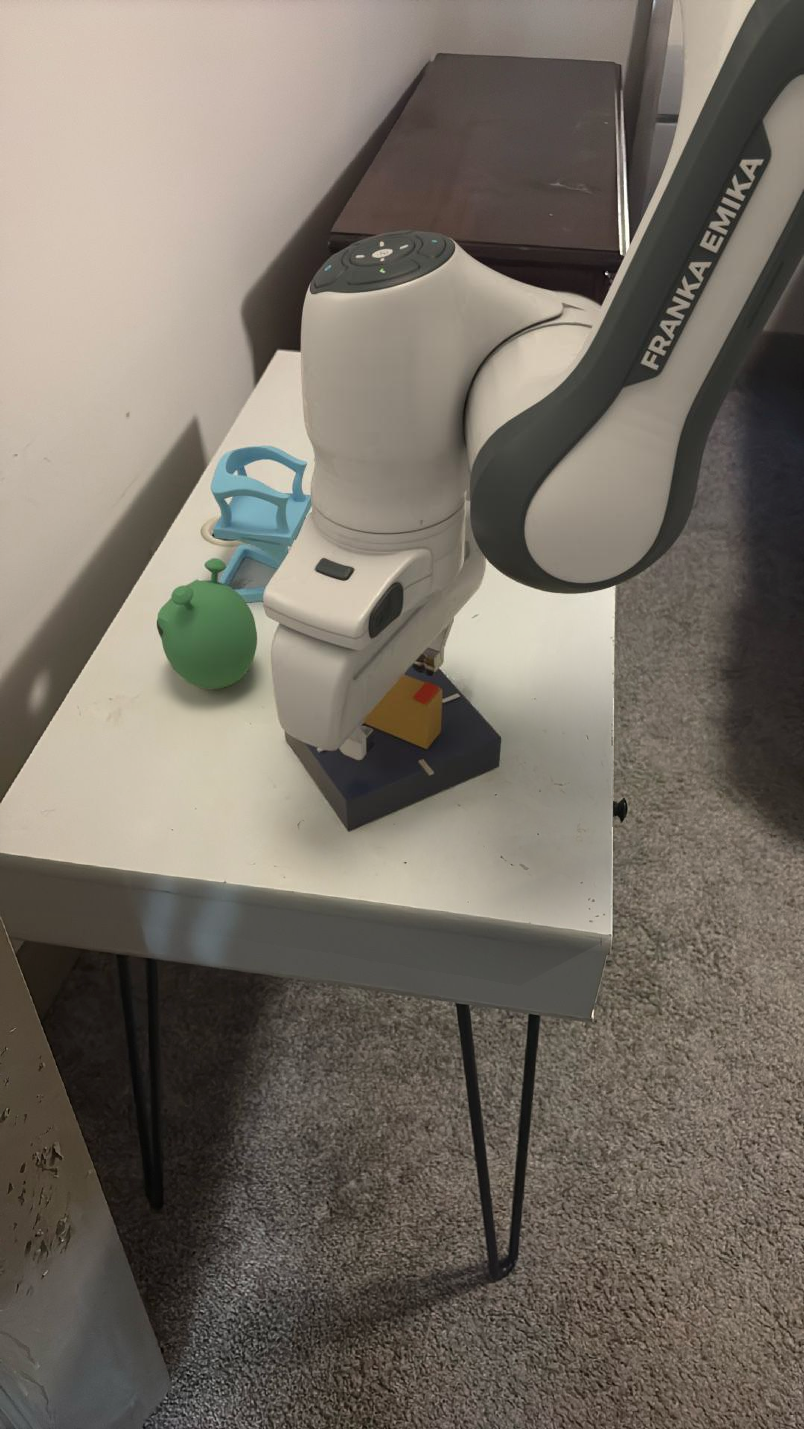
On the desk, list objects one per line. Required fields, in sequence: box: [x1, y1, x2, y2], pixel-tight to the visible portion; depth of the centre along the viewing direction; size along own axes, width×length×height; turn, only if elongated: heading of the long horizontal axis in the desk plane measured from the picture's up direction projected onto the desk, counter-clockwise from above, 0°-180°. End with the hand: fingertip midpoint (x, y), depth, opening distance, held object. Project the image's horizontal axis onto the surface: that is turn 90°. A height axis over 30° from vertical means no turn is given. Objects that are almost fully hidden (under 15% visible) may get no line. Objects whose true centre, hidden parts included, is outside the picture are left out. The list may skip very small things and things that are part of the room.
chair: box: [210, 445, 312, 603], centre depth 82 cm, size 8×8×12 cm
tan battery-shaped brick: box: [364, 675, 442, 749], centre depth 68 cm, size 7×2×4 cm, turn 59°
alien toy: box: [156, 557, 258, 690], centre depth 74 cm, size 7×8×10 cm
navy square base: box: [284, 665, 503, 832], centre depth 70 cm, size 12×11×3 cm
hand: (393, 707), depth 68 cm, fingers open, 8 cm apart
